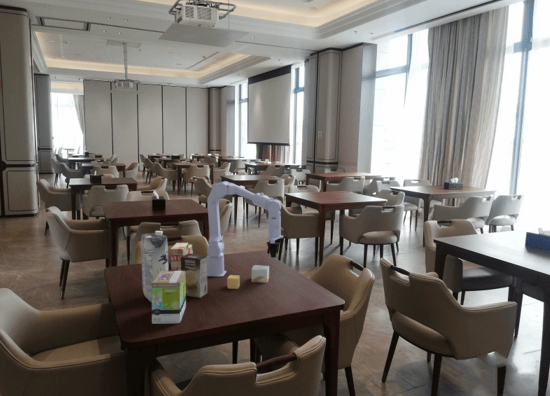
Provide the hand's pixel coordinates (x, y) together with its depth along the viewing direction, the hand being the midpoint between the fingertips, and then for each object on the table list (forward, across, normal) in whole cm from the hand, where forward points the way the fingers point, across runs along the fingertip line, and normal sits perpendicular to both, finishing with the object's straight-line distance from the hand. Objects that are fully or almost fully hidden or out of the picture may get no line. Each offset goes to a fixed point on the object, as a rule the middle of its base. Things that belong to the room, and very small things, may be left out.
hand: (274, 255), depth 201 cm
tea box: (+10, -51, +31) cm, 61 cm away
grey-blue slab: (+7, -6, +6) cm, 11 cm away
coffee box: (+10, -28, +29) cm, 42 cm away
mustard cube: (+10, -17, +15) cm, 25 cm away
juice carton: (+10, -34, +43) cm, 56 cm away
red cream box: (+10, +10, +48) cm, 50 cm away
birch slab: (+10, -6, +6) cm, 13 cm away
